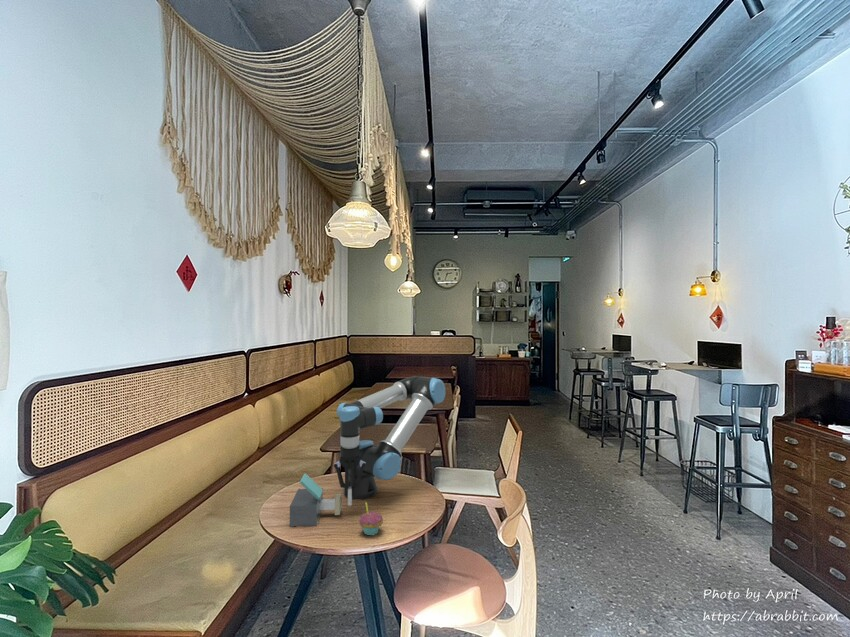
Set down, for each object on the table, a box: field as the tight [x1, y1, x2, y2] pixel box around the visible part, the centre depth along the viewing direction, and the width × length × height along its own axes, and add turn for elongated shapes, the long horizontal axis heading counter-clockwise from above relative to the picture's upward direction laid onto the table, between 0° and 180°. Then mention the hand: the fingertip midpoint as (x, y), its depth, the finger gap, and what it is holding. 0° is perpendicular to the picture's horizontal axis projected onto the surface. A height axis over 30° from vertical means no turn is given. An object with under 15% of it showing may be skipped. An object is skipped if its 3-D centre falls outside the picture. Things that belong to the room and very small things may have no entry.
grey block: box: [289, 487, 324, 528], centre depth 171 cm, size 10×16×8 cm, turn 5°
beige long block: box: [319, 493, 342, 516], centre depth 171 cm, size 15×6×6 cm, turn 95°
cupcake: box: [359, 501, 384, 536], centre depth 158 cm, size 9×8×12 cm
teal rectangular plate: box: [299, 472, 324, 500], centre depth 171 cm, size 10×8×1 cm
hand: (349, 503), depth 172 cm, fingers closed
